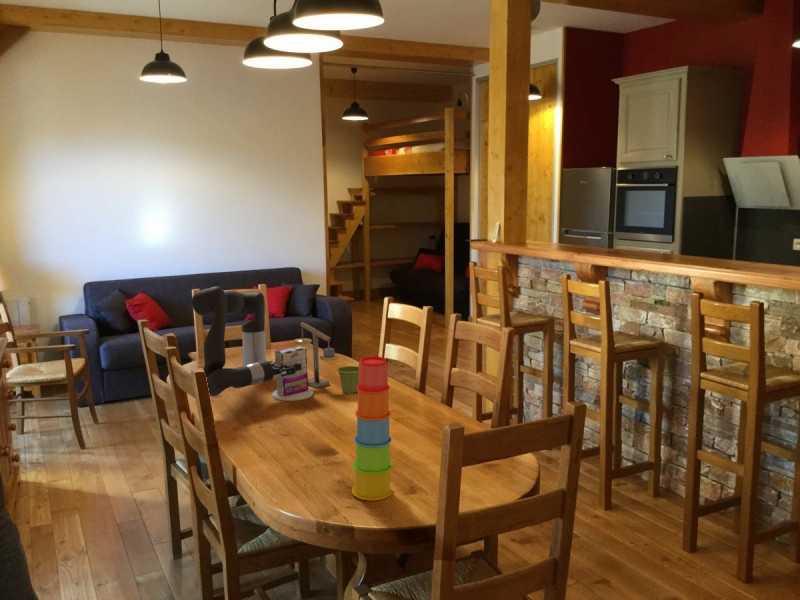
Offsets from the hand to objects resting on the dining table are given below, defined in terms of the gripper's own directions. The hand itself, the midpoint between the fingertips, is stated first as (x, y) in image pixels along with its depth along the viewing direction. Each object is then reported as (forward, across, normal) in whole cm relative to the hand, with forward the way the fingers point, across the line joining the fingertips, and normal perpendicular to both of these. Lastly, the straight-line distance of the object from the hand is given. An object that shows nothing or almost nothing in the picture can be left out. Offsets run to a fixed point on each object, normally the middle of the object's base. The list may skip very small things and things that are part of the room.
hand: (293, 364), depth 265 cm
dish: (-1, 0, +11) cm, 11 cm away
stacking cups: (-42, -83, +12) cm, 94 cm away
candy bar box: (-1, 0, +11) cm, 11 cm away
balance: (+14, +4, +11) cm, 19 cm away
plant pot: (+16, -13, +12) cm, 24 cm away
